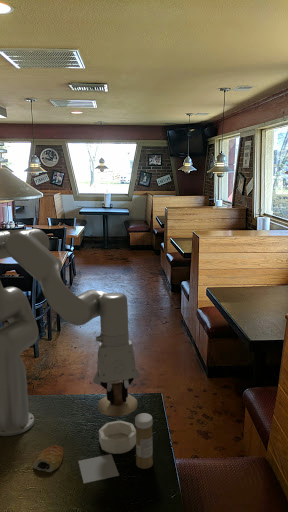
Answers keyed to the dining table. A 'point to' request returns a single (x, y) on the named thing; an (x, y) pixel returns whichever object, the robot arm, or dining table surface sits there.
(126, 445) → the bowl
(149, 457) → the sprinkles bottle
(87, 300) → the robot arm
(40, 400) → the dining table surface
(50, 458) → the pastry
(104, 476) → the mat
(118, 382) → the lid
